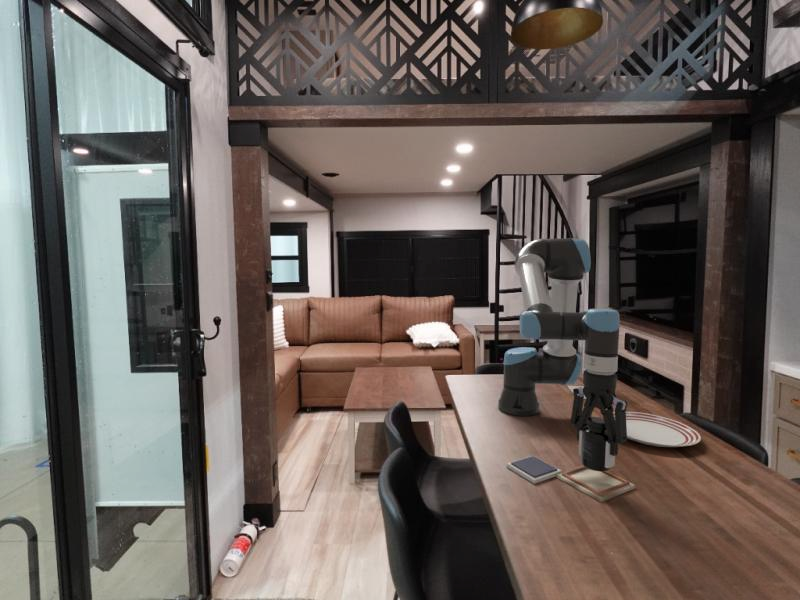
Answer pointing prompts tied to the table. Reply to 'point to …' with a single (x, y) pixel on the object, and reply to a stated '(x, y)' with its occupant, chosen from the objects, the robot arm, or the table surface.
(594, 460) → the supplement bottle
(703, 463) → the table surface
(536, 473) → the ink pad
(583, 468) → the board
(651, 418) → the dinner plate
